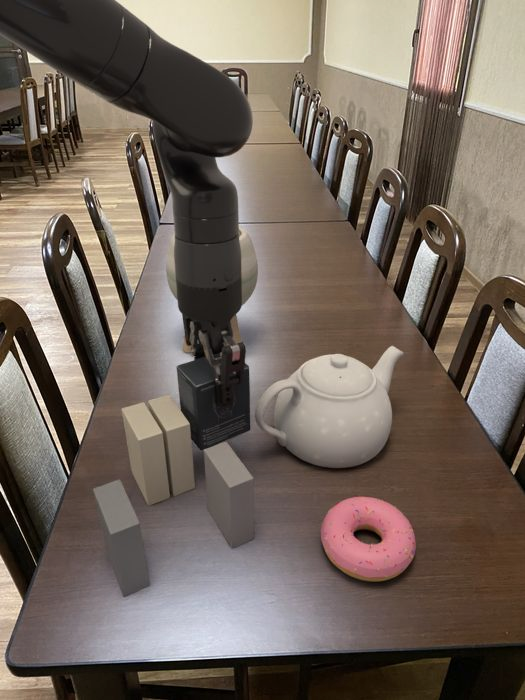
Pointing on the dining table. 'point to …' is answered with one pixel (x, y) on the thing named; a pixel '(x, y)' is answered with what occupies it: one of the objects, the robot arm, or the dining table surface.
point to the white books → (159, 448)
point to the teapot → (333, 409)
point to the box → (211, 404)
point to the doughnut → (364, 557)
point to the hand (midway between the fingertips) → (214, 391)
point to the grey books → (222, 500)
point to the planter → (247, 270)
